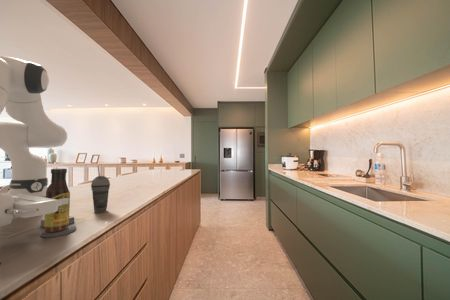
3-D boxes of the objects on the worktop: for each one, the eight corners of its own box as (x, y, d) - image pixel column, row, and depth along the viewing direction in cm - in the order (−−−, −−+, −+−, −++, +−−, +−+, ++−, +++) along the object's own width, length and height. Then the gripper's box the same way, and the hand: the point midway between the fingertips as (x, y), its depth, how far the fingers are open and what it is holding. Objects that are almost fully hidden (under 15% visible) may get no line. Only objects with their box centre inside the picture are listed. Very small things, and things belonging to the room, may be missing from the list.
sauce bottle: (55, 234, 63) (55, 169, 63) (38, 232, 64) (39, 169, 64) (74, 226, 70) (74, 168, 70) (59, 225, 71) (59, 167, 71)
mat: (34, 234, 64) (34, 232, 64) (66, 225, 73) (66, 223, 73) (49, 239, 61) (49, 237, 61) (81, 229, 69) (81, 227, 69)
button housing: (40, 225, 72) (40, 219, 72) (63, 219, 79) (63, 214, 79) (51, 228, 69) (51, 222, 69) (74, 222, 76) (74, 217, 76)
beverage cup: (103, 214, 86) (104, 166, 87) (86, 213, 86) (87, 166, 87) (113, 209, 94) (113, 165, 94) (97, 209, 94) (97, 165, 94)
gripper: (16, 201, 50) (78, 191, 62) (-18, 194, 58) (42, 187, 71) (16, 227, 50) (77, 212, 62) (-18, 216, 58) (42, 205, 71)
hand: (58, 199), depth 67 cm, fingers open, 8 cm apart
